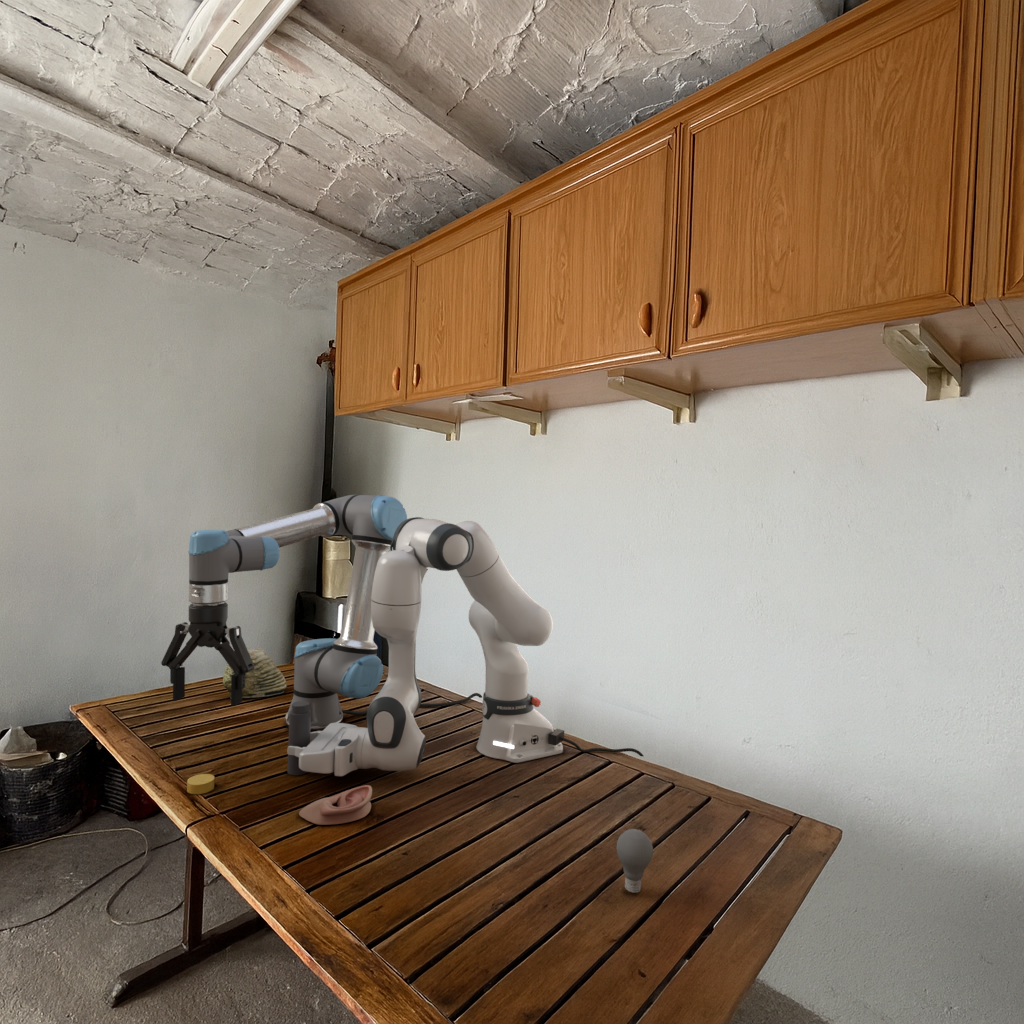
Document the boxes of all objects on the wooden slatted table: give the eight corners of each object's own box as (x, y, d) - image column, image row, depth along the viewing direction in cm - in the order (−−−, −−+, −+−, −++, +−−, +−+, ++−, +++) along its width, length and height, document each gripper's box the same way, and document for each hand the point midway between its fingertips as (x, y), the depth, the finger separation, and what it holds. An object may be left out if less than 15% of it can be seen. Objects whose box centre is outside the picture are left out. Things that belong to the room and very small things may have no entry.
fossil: (218, 695, 195) (220, 647, 195) (278, 685, 208) (279, 640, 207) (228, 703, 189) (230, 653, 188) (289, 692, 201) (290, 645, 201)
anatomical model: (291, 800, 123) (320, 775, 134) (290, 820, 123) (320, 794, 134) (354, 810, 120) (379, 784, 132) (353, 830, 121) (378, 803, 132)
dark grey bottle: (293, 765, 148) (296, 699, 148) (312, 768, 148) (315, 701, 147) (283, 774, 144) (285, 705, 143) (302, 776, 143) (305, 707, 143)
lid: (194, 796, 131) (195, 787, 131) (182, 789, 134) (182, 779, 134) (219, 788, 136) (219, 778, 136) (206, 780, 139) (206, 771, 139)
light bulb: (610, 879, 108) (613, 822, 108) (644, 879, 109) (647, 822, 109) (619, 902, 102) (622, 840, 102) (655, 901, 103) (658, 840, 103)
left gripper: (143, 602, 133) (142, 702, 134) (252, 609, 129) (250, 712, 130) (168, 596, 140) (167, 690, 141) (272, 603, 136) (270, 700, 137)
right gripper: (368, 718, 155) (313, 714, 156) (340, 750, 135) (276, 746, 135) (367, 743, 155) (312, 739, 156) (338, 780, 135) (275, 775, 136)
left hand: (207, 701), depth 135 cm, fingers open, 13 cm apart
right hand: (295, 743), depth 146 cm, fingers open, 6 cm apart
